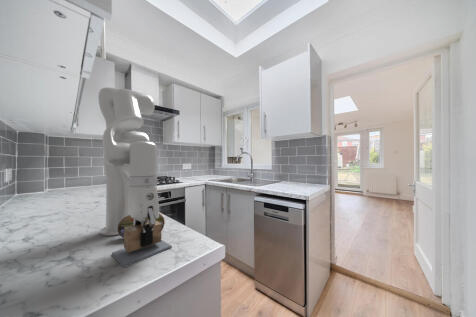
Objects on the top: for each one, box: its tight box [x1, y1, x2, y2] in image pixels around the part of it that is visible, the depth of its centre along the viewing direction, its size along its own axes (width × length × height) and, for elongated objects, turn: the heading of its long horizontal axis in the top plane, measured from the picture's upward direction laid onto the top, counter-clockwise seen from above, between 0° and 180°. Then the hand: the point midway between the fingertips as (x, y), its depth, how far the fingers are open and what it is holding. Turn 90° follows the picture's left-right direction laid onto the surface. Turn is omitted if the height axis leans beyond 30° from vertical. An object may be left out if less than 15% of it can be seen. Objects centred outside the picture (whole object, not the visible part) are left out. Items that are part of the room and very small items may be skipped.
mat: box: [111, 239, 172, 268], centre depth 51 cm, size 10×13×1 cm
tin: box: [118, 212, 166, 239], centre depth 62 cm, size 15×3×8 cm, turn 105°
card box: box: [123, 221, 162, 252], centre depth 51 cm, size 9×4×6 cm, turn 135°
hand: (142, 242), depth 51 cm, fingers closed on card box, 4 cm apart
